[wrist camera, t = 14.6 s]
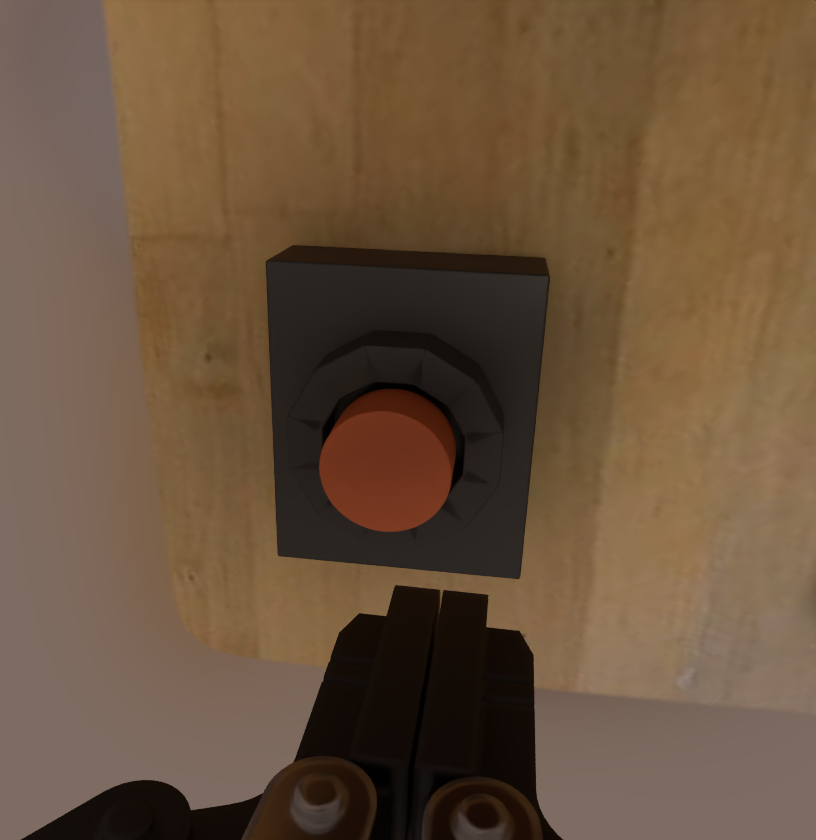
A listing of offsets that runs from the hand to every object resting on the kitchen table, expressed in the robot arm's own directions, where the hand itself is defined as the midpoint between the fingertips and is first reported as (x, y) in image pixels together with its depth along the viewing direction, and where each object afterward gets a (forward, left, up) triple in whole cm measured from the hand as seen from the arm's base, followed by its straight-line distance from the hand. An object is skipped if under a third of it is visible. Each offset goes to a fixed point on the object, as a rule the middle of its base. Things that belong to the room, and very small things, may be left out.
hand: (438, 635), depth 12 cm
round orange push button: (+2, -2, -12) cm, 12 cm away
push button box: (+2, -2, -17) cm, 17 cm away
